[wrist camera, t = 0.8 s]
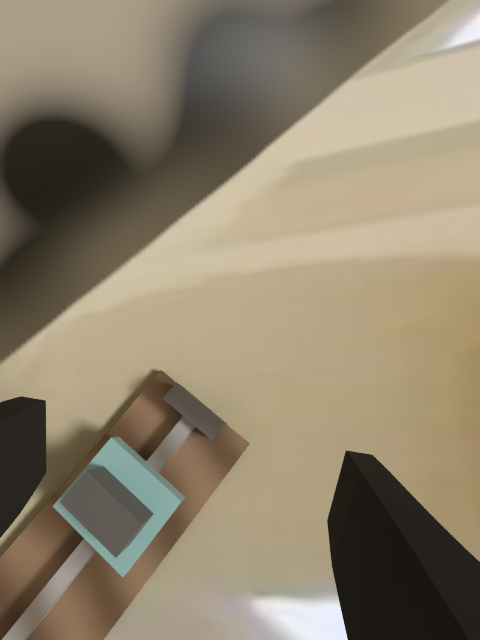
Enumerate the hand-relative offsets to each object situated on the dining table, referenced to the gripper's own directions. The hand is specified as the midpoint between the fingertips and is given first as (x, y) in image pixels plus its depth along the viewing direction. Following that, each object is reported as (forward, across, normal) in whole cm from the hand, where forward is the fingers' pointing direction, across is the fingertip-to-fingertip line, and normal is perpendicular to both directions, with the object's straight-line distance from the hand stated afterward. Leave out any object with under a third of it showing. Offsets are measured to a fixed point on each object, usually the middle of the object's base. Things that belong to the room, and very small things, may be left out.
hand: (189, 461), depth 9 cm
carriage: (+15, +6, +16) cm, 23 cm away
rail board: (+15, +9, +22) cm, 28 cm away
